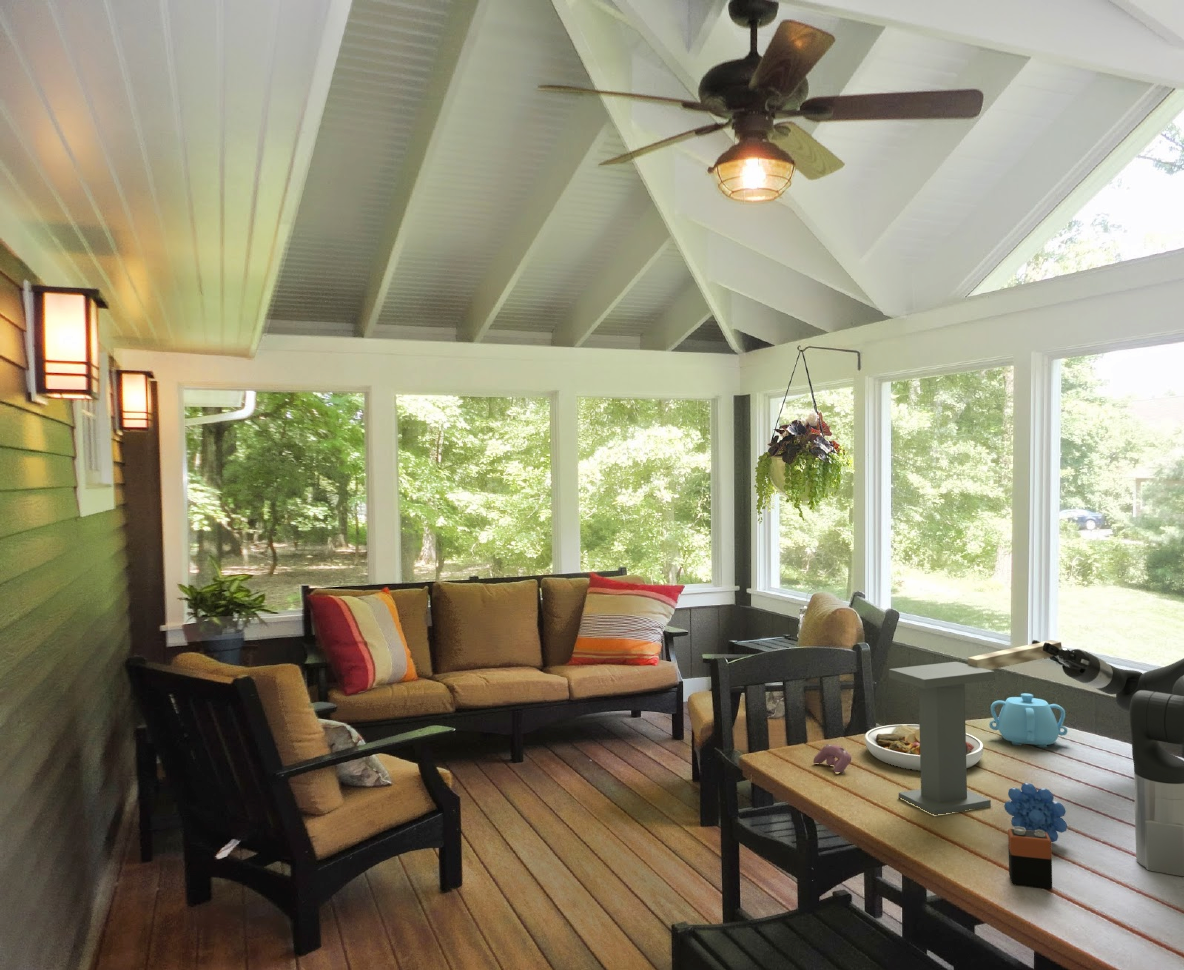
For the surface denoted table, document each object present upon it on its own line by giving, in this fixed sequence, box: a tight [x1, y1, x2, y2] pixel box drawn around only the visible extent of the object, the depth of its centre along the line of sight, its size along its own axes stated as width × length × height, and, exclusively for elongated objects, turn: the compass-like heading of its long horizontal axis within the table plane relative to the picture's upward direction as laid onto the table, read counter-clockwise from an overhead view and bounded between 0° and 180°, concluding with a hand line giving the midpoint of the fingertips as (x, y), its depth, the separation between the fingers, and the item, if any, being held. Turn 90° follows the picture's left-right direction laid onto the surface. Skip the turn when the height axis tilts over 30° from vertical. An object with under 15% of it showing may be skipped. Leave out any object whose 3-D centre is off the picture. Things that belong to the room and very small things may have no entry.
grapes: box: [1003, 782, 1068, 843], centre depth 177 cm, size 12×7×12 cm, turn 68°
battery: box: [1007, 826, 1053, 890], centre depth 160 cm, size 4×7×10 cm, turn 71°
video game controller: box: [812, 744, 852, 773], centre depth 226 cm, size 10×5×7 cm, turn 23°
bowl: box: [864, 723, 984, 772], centre depth 233 cm, size 30×30×8 cm
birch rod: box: [967, 639, 1063, 671], centre depth 208 cm, size 26×3×3 cm, turn 109°
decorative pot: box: [989, 692, 1068, 748], centre depth 245 cm, size 16×16×14 cm
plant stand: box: [888, 661, 996, 815], centre depth 200 cm, size 20×12×31 cm, turn 110°
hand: (1038, 644), depth 211 cm, fingers closed on birch rod, 3 cm apart
